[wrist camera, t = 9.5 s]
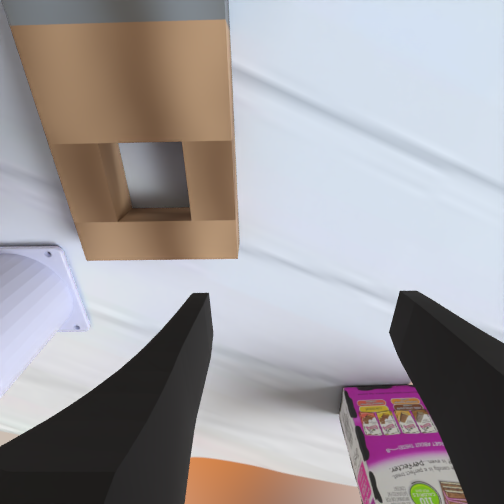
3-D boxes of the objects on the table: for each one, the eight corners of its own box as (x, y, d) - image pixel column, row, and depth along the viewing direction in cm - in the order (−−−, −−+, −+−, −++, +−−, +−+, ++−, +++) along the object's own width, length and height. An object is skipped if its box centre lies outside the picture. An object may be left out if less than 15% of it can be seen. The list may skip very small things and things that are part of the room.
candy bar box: (337, 416, 31) (408, 697, 17) (341, 384, 29) (428, 679, 14) (445, 414, 31) (616, 700, 16) (458, 381, 28) (671, 681, 14)
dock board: (104, 243, 22) (86, 260, 19) (-44, -268, 11) (-116, -356, 9) (239, 241, 21) (237, 258, 19) (215, -281, 11) (205, -374, 9)
